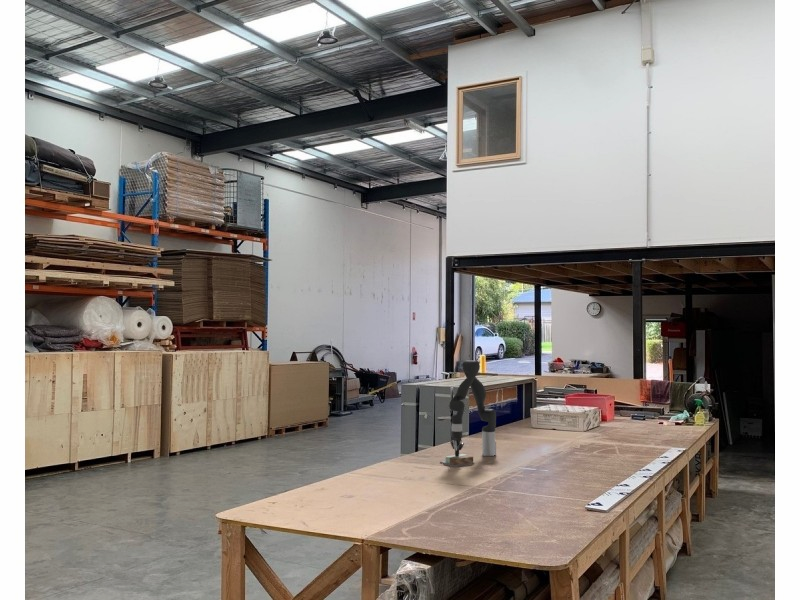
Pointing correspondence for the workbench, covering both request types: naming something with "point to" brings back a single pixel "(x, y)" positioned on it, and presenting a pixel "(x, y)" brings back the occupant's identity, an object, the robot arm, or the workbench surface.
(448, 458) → the plank
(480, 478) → the workbench surface
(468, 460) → the walnut board
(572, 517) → the workbench surface
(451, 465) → the base
